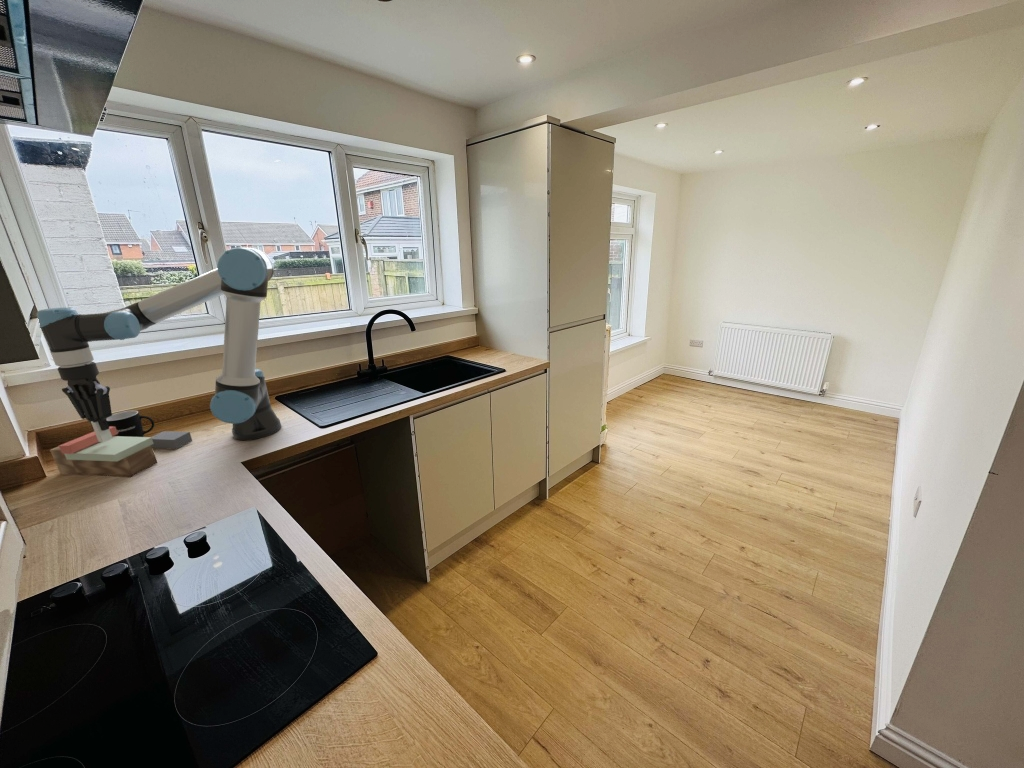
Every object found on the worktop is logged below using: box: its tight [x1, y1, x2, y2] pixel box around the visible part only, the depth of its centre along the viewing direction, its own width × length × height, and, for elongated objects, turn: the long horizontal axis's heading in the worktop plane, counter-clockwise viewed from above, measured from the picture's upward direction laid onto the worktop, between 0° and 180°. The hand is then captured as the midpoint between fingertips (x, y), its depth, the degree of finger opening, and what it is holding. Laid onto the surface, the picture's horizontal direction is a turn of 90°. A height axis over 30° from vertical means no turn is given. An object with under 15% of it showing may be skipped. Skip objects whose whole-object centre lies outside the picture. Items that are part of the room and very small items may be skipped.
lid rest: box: [150, 430, 193, 450], centre depth 137 cm, size 10×6×4 cm, turn 83°
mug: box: [106, 410, 155, 437], centre depth 140 cm, size 12×9×10 cm
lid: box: [65, 436, 154, 461], centre depth 121 cm, size 17×11×2 cm, turn 83°
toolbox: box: [49, 445, 158, 478], centre depth 122 cm, size 24×8×8 cm, turn 83°
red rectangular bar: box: [58, 426, 118, 454], centre depth 121 cm, size 3×13×2 cm, turn 173°
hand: (105, 439), depth 120 cm, fingers closed
